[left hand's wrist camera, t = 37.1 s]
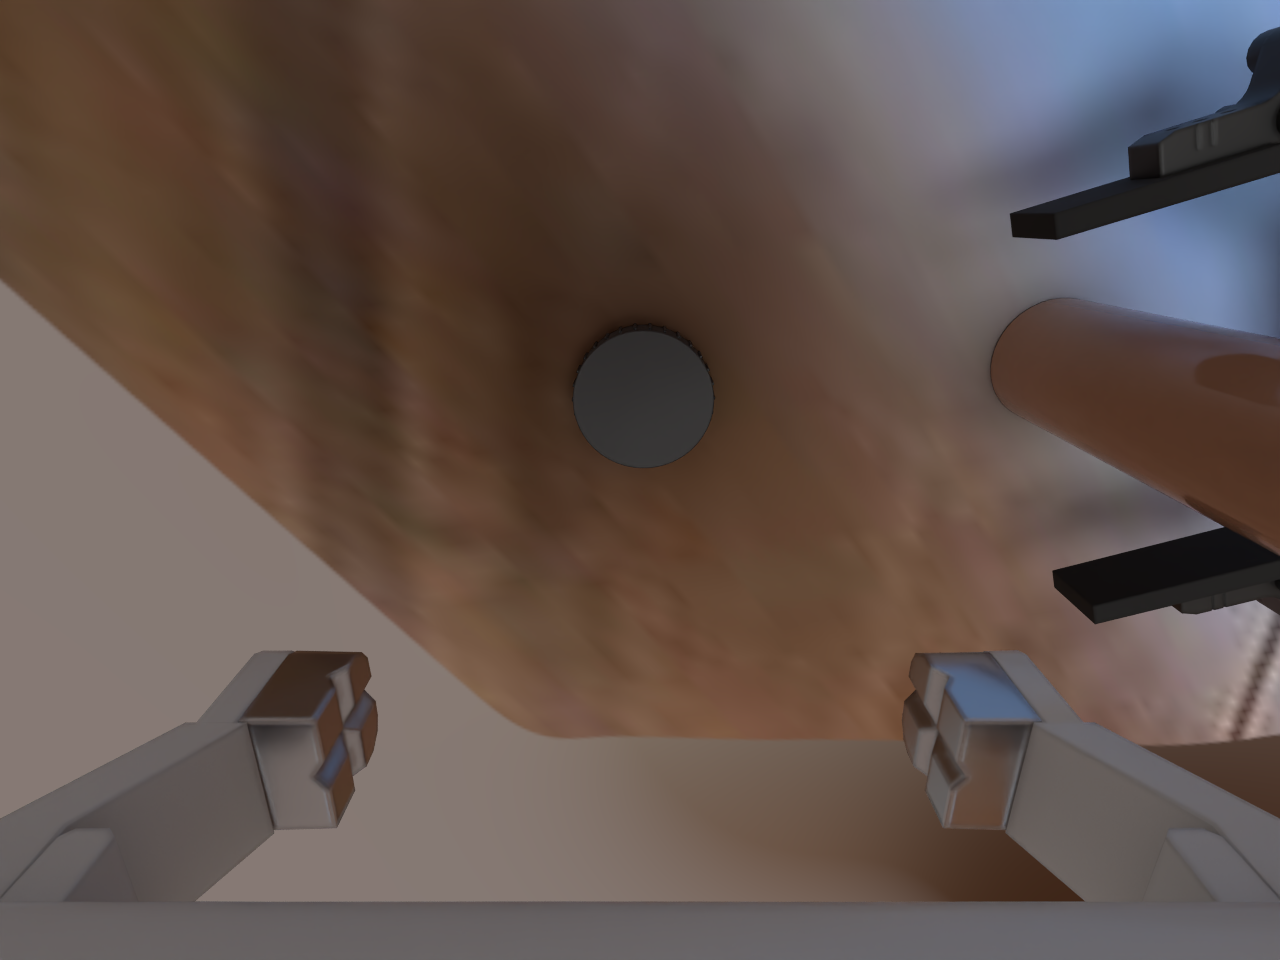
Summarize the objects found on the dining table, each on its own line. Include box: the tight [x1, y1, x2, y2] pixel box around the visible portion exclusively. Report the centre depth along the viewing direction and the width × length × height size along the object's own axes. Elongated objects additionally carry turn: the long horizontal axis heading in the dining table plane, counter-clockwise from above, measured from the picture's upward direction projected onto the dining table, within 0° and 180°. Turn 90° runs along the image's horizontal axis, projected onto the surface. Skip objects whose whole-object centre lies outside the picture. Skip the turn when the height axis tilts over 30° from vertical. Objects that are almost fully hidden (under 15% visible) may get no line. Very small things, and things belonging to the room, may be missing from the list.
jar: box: [991, 298, 1280, 556], centre depth 22 cm, size 5×5×18 cm
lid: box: [572, 323, 715, 468], centre depth 30 cm, size 6×6×2 cm
